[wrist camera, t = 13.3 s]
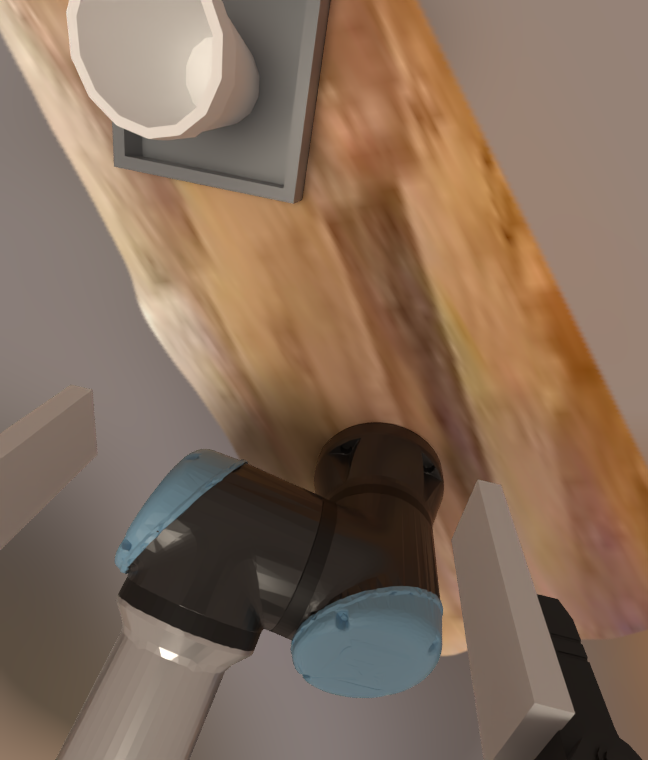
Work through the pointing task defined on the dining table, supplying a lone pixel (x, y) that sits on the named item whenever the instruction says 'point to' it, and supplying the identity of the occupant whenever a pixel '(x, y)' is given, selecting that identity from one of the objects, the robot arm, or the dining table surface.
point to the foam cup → (163, 64)
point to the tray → (268, 117)
